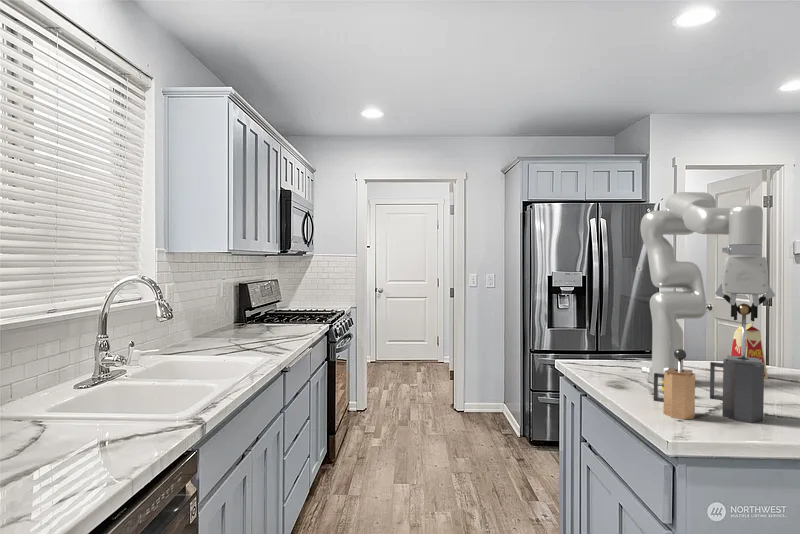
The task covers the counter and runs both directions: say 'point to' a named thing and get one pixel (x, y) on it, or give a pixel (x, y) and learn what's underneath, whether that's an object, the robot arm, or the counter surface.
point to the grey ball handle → (679, 357)
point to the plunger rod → (743, 325)
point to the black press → (740, 388)
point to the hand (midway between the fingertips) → (743, 319)
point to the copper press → (677, 393)
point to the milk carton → (749, 344)
